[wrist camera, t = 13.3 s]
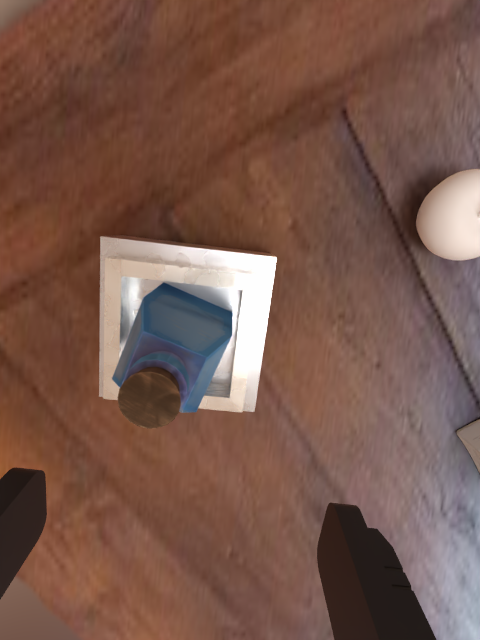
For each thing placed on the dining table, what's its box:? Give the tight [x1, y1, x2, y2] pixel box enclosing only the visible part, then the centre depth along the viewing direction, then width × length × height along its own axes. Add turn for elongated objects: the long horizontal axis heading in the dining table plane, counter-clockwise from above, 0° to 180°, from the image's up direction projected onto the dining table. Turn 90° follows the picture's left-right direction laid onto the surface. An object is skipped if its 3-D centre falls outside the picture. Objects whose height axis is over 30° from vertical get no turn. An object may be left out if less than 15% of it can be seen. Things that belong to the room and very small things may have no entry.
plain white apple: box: [416, 169, 480, 260], centre depth 27 cm, size 7×7×8 cm
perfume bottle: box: [112, 282, 233, 428], centre depth 23 cm, size 6×6×12 cm
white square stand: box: [99, 235, 277, 412], centre depth 30 cm, size 14×14×8 cm
